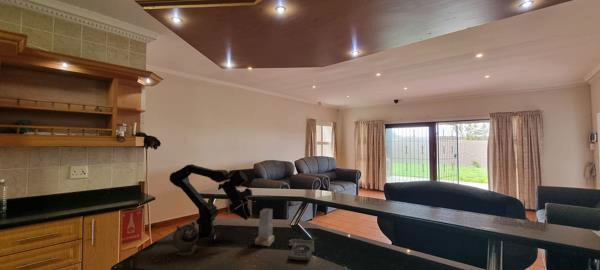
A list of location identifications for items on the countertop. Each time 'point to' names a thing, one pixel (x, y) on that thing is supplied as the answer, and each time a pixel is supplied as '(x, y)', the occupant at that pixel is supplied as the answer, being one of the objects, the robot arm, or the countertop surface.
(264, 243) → the stand
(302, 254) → the graphics card
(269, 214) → the housing
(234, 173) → the robot arm
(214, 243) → the countertop surface
